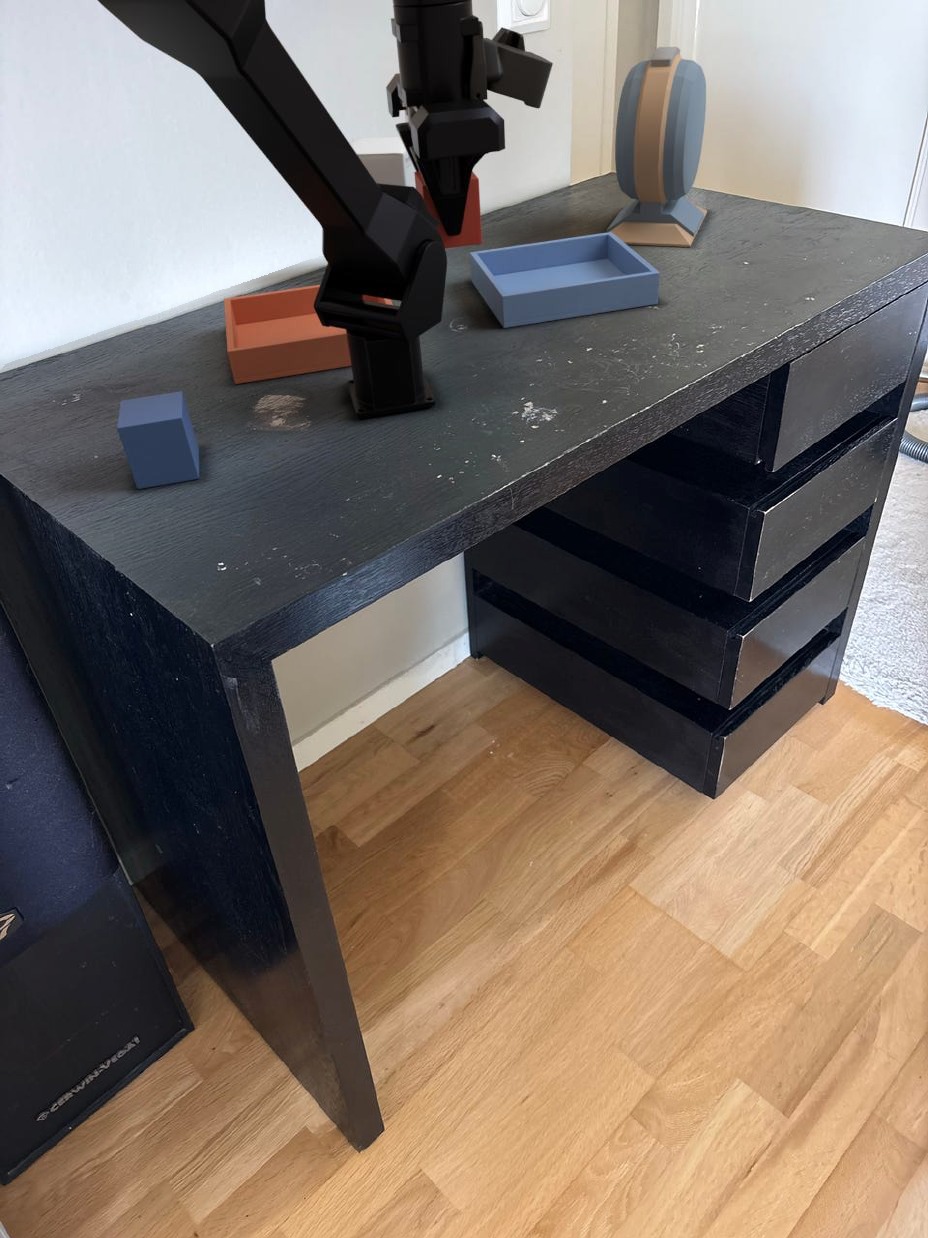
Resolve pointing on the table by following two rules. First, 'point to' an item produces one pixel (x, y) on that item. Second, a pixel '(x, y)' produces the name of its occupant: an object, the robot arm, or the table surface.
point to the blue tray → (563, 279)
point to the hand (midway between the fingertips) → (448, 226)
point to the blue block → (158, 439)
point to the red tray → (282, 335)
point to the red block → (471, 216)
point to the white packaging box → (386, 160)
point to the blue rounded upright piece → (660, 150)
